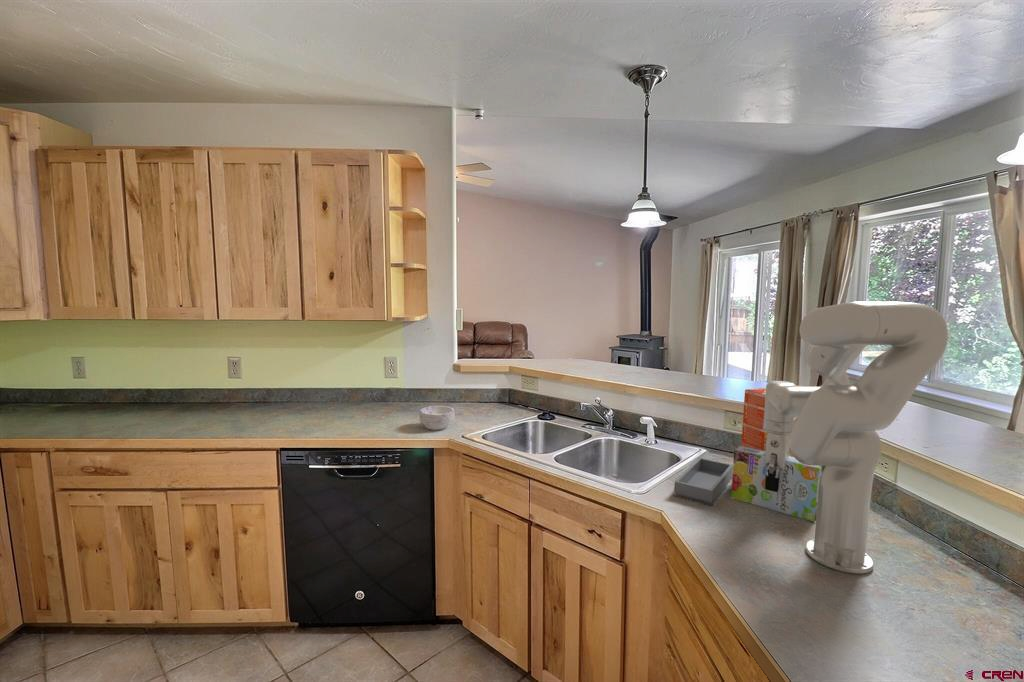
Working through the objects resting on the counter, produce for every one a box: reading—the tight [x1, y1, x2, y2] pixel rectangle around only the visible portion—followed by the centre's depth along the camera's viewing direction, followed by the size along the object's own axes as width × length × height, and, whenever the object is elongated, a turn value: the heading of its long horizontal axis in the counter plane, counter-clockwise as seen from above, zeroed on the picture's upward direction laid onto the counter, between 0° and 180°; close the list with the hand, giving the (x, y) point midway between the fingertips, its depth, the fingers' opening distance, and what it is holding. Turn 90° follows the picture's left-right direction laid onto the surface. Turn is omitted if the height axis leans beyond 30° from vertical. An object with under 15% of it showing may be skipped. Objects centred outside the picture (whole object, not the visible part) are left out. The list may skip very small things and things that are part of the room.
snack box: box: [730, 445, 823, 523], centre depth 130 cm, size 21×6×15 cm, turn 47°
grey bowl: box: [419, 405, 455, 431], centre depth 204 cm, size 15×15×8 cm
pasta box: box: [740, 384, 804, 457], centre depth 148 cm, size 23×8×30 cm, turn 111°
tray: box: [673, 457, 733, 507], centre depth 144 cm, size 26×11×4 cm, turn 143°
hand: (774, 484), depth 131 cm, fingers open, 9 cm apart
